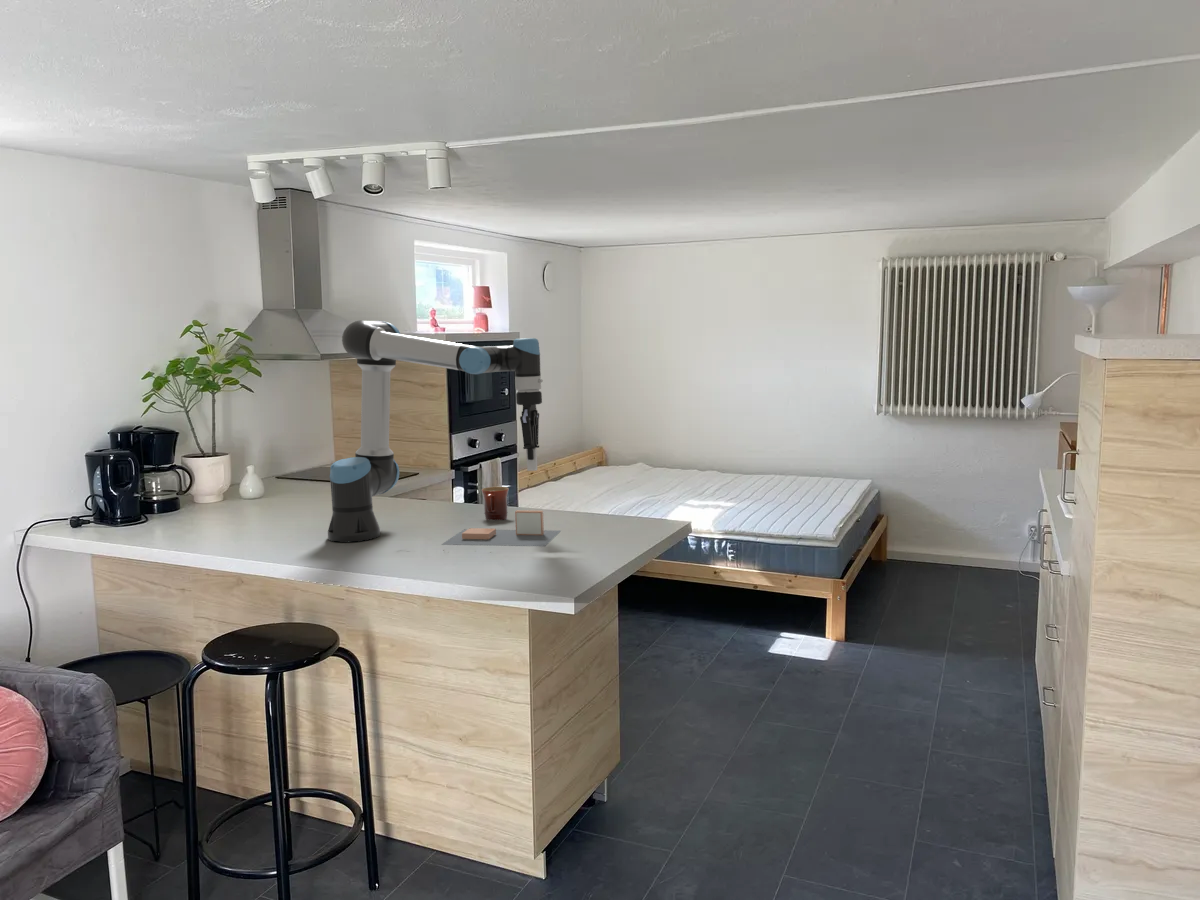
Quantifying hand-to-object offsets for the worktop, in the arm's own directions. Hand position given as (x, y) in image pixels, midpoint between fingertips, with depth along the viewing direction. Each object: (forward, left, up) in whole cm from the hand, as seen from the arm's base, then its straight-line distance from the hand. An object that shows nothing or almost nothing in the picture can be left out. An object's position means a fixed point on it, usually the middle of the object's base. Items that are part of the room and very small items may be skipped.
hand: (532, 470), depth 260 cm
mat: (-7, -11, -19) cm, 23 cm away
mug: (-18, +17, -19) cm, 31 cm away
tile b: (0, -7, -18) cm, 19 cm away
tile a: (-14, -8, -17) cm, 23 cm away
